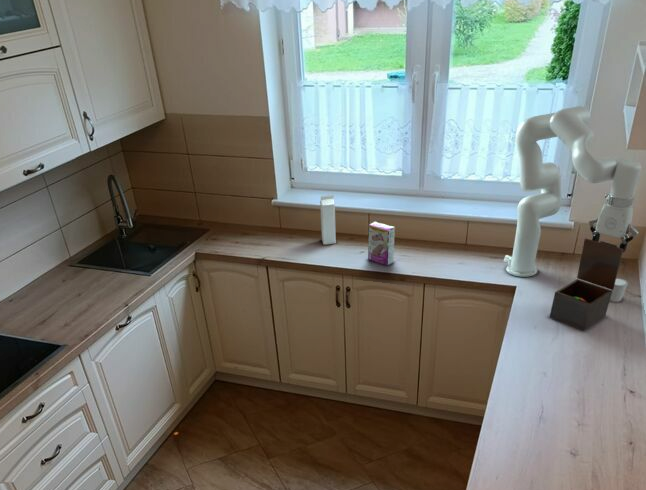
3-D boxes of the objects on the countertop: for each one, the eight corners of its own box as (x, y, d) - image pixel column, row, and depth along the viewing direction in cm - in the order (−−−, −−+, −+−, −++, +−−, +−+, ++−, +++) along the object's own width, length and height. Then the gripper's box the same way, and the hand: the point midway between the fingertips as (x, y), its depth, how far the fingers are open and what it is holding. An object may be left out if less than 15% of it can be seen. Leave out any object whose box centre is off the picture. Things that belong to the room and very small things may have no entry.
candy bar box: (367, 260, 267) (367, 224, 257) (374, 256, 270) (374, 221, 260) (387, 266, 261) (388, 230, 251) (394, 262, 264) (395, 226, 254)
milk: (321, 240, 288) (319, 194, 275) (333, 238, 288) (332, 193, 275) (323, 244, 283) (321, 198, 270) (336, 243, 284) (334, 197, 270)
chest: (584, 330, 211) (591, 304, 205) (549, 317, 219) (555, 292, 213) (605, 316, 218) (612, 290, 212) (571, 303, 227) (577, 278, 220)
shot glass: (624, 302, 225) (629, 286, 221) (605, 301, 227) (610, 285, 222) (621, 294, 231) (626, 278, 226) (602, 293, 232) (606, 277, 228)
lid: (622, 249, 201) (630, 244, 203) (584, 239, 210) (592, 233, 212) (612, 290, 211) (619, 284, 214) (576, 278, 220) (584, 272, 222)
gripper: (590, 198, 203) (579, 246, 213) (640, 209, 192) (626, 259, 202) (601, 192, 206) (590, 240, 217) (651, 203, 195) (636, 253, 206)
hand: (607, 249), depth 209 cm, fingers open, 9 cm apart
